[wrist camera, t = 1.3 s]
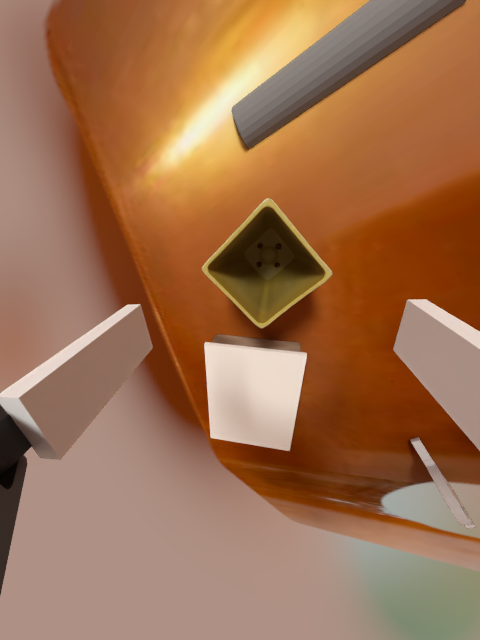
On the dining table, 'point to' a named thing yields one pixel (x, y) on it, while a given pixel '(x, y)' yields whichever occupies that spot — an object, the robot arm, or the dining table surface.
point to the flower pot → (266, 265)
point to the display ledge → (253, 389)
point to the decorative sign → (443, 485)
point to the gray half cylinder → (334, 62)
